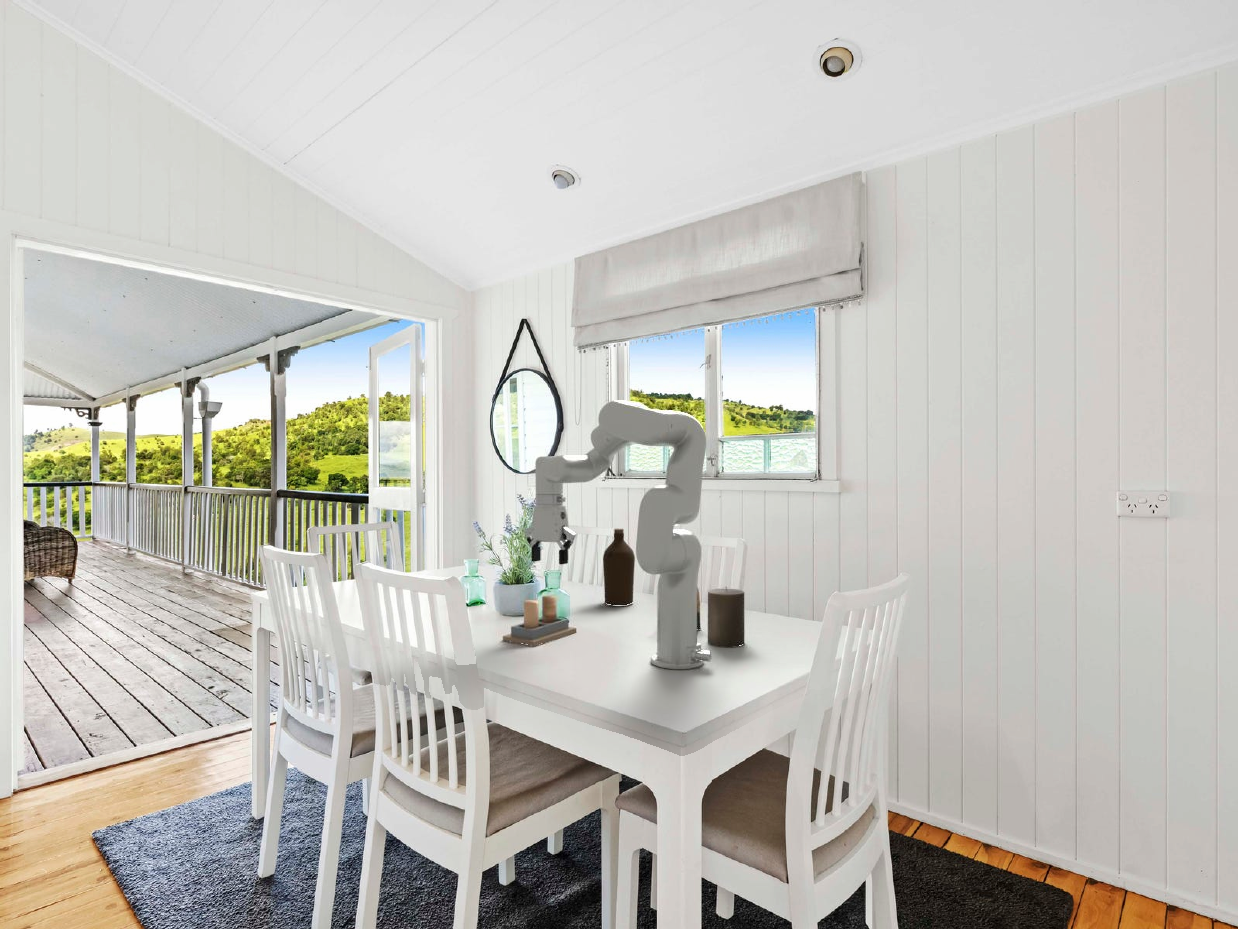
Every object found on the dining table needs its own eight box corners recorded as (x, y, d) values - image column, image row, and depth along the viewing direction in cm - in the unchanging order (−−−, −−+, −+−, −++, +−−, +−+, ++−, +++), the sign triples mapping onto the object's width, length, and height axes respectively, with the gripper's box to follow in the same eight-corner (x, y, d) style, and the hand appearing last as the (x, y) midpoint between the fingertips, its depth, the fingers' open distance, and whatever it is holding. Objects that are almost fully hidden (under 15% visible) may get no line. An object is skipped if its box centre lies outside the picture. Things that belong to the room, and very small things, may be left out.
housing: (576, 632, 199) (576, 596, 199) (534, 646, 184) (534, 607, 184) (545, 627, 205) (545, 591, 205) (502, 640, 190) (502, 602, 190)
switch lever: (559, 628, 198) (559, 596, 198) (550, 631, 195) (550, 598, 195) (548, 626, 201) (548, 594, 201) (539, 629, 197) (539, 597, 197)
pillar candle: (743, 648, 182) (744, 590, 182) (705, 646, 184) (706, 588, 184) (744, 639, 192) (745, 584, 192) (708, 637, 194) (709, 582, 194)
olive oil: (633, 607, 232) (633, 530, 232) (601, 607, 233) (601, 530, 233) (635, 601, 243) (635, 527, 243) (604, 600, 244) (604, 527, 244)
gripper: (582, 501, 196) (582, 563, 196) (534, 499, 205) (534, 558, 206) (565, 502, 190) (566, 566, 190) (516, 500, 199) (517, 562, 199)
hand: (549, 562), depth 198 cm, fingers open, 9 cm apart
